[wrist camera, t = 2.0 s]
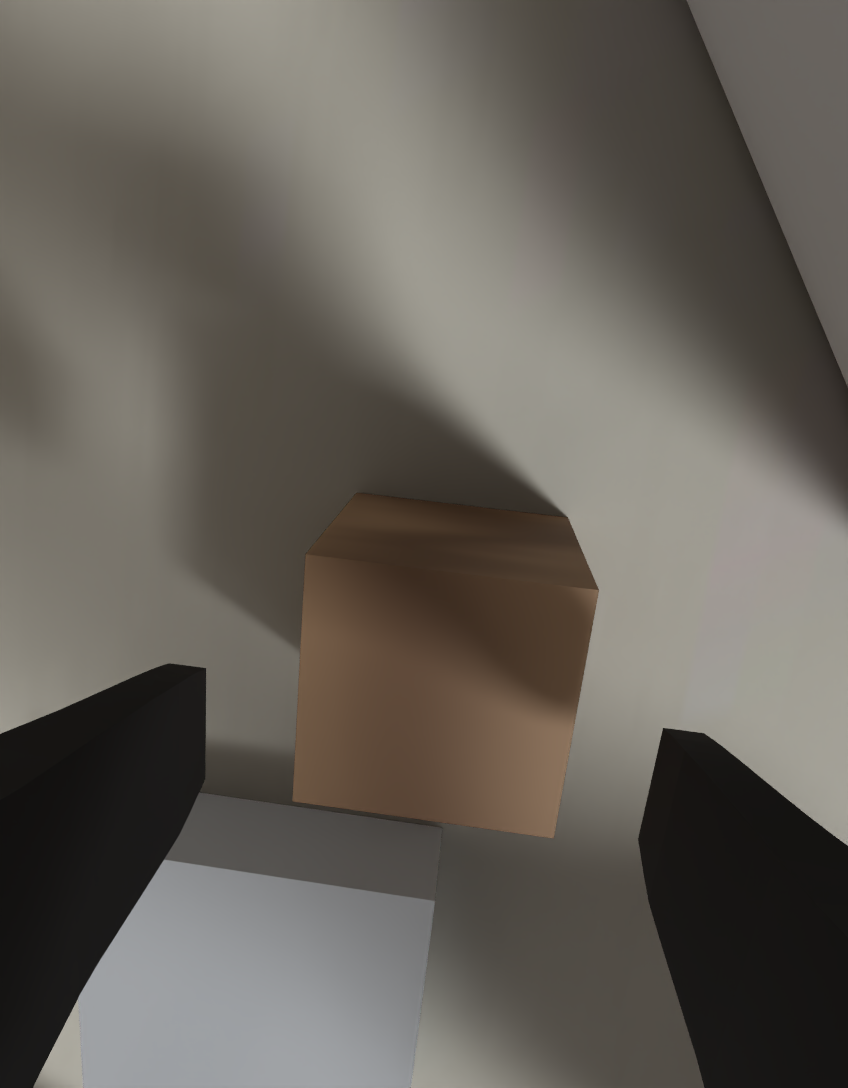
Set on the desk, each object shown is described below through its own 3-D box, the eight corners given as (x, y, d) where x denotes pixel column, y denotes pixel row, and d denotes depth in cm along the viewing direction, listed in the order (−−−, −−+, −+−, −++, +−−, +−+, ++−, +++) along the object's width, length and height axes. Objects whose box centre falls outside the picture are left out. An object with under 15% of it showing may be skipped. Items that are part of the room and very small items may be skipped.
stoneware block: (443, 818, 20) (434, 901, 17) (412, 1058, 22) (401, 1164, 19) (129, 772, 20) (69, 845, 17) (135, 1012, 23) (84, 1109, 20)
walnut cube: (567, 516, 17) (598, 590, 12) (536, 705, 18) (553, 838, 13) (356, 491, 17) (304, 554, 12) (343, 679, 18) (292, 801, 14)
